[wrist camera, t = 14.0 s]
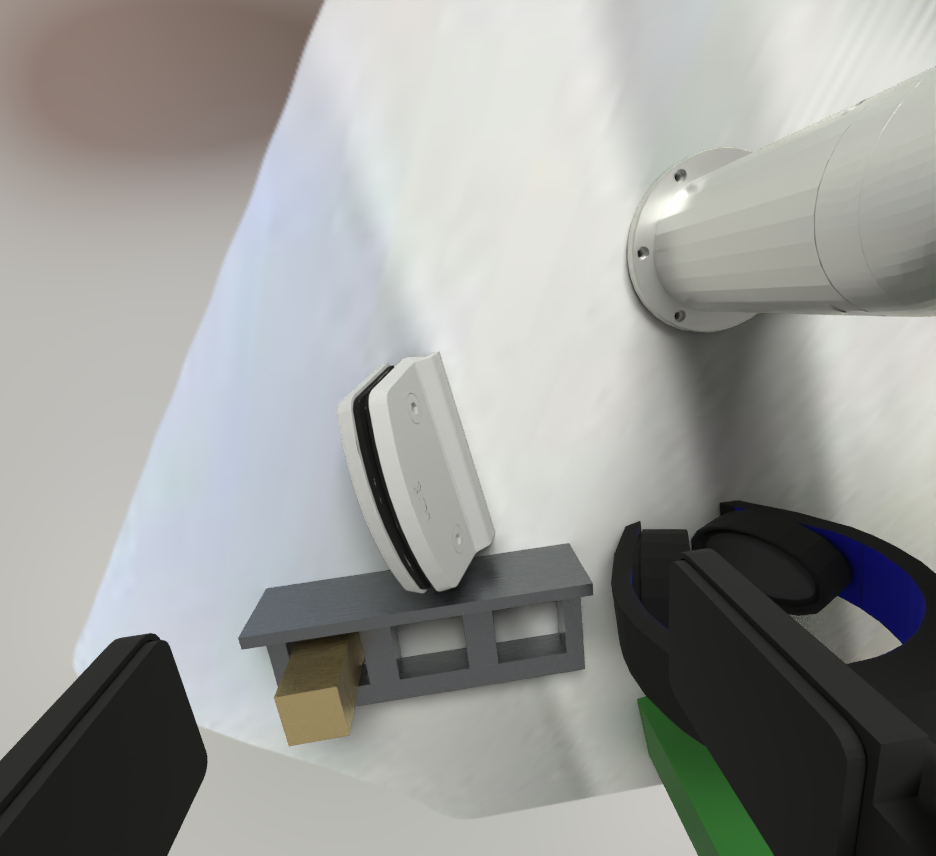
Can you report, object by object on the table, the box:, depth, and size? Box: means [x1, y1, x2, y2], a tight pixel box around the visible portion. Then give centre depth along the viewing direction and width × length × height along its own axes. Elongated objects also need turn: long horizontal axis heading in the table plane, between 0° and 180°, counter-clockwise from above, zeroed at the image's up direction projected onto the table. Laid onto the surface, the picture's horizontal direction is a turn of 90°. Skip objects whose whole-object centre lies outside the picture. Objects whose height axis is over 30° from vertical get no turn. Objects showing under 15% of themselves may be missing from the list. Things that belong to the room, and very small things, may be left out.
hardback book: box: [637, 697, 774, 856], centre depth 35 cm, size 18×7×24 cm, turn 105°
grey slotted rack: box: [238, 543, 593, 706], centre depth 38 cm, size 26×11×6 cm, turn 97°
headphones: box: [611, 501, 936, 746], centre depth 31 cm, size 18×7×20 cm, turn 102°
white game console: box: [337, 352, 495, 593], centre depth 34 cm, size 17×5×10 cm, turn 17°
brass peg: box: [274, 631, 364, 746], centre depth 37 cm, size 4×4×8 cm
